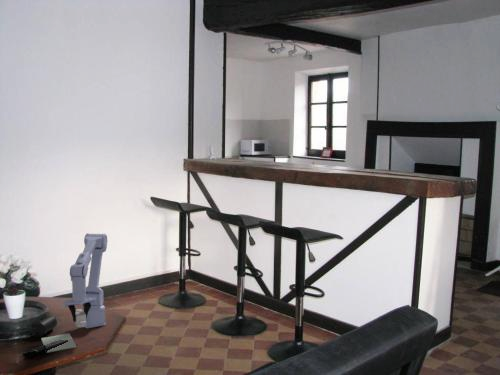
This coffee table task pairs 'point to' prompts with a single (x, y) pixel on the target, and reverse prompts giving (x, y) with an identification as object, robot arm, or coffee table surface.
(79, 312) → the connector
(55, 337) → the mat
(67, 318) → the coffee table surface
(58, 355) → the coffee table surface
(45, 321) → the end cap
